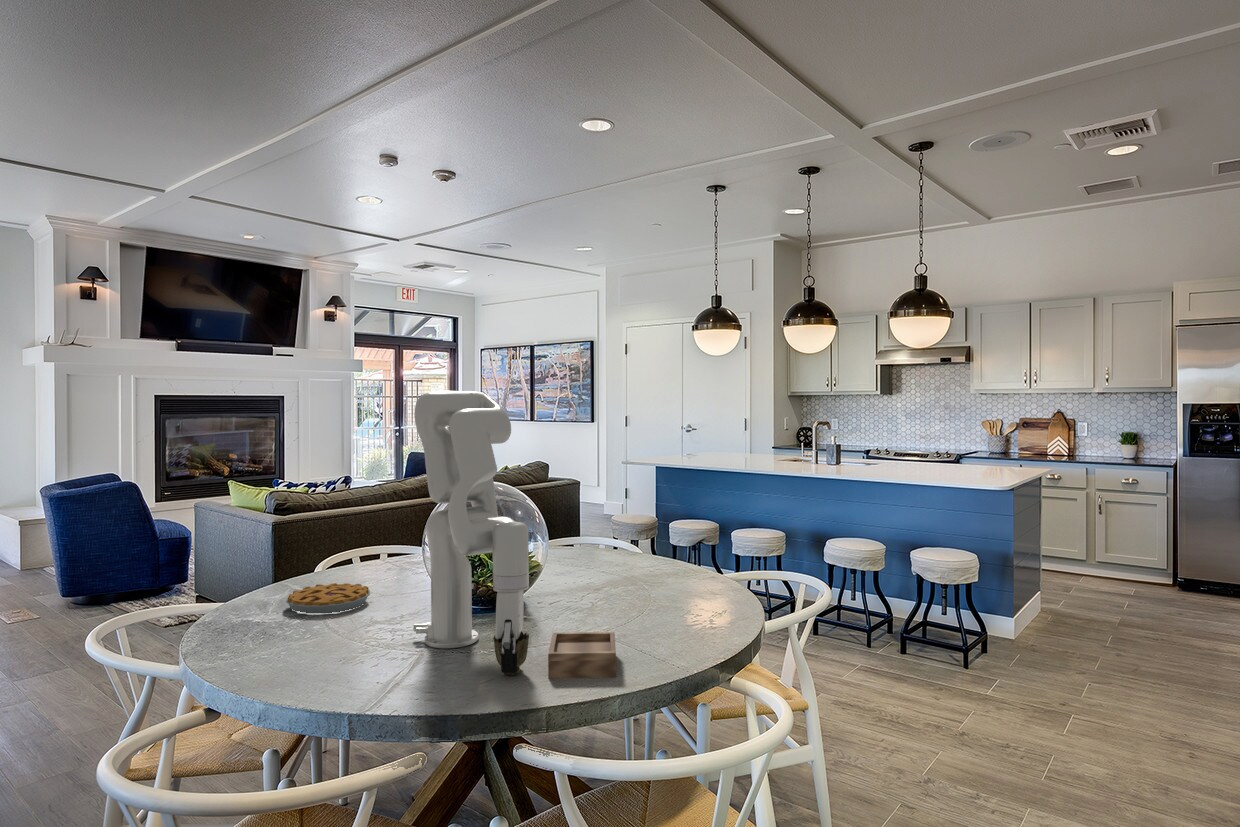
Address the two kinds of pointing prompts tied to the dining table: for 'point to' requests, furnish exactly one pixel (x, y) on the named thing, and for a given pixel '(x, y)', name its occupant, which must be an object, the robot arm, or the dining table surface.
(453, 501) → the robot arm
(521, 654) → the cup
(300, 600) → the pie
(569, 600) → the dining table surface
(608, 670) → the shallow wooden tray
